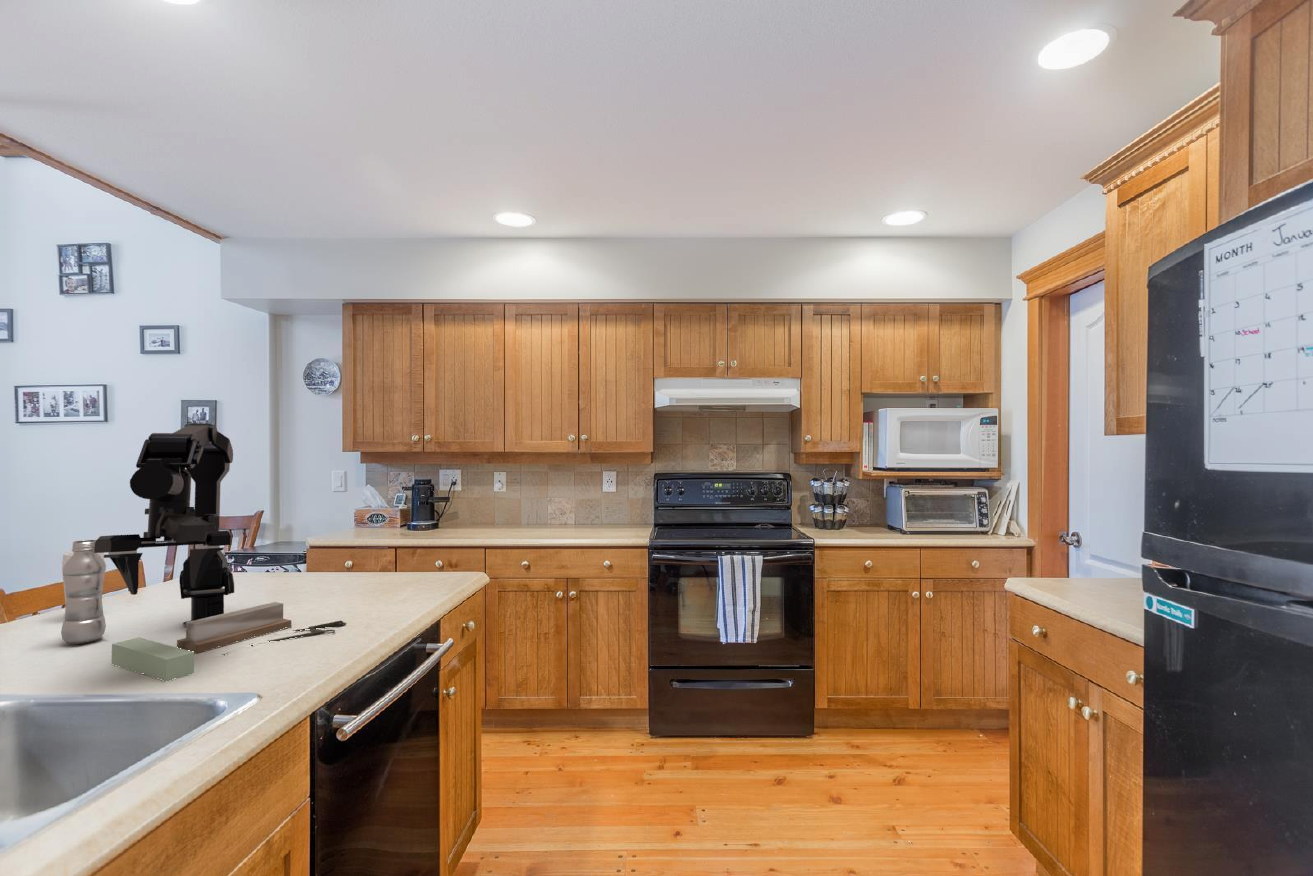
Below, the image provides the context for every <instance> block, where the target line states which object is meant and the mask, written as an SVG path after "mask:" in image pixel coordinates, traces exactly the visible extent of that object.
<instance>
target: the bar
mask: <svg viewBox="0 0 1313 876" xmlns="http://www.w3.org/2000/svg"><path fill="white" fill-rule="evenodd" d="M112 664H114V665H113V666H115V665H117V666H116V667H118V666H120V667H119V668H121V667H122V668H121V669H124V668H127V669H129V670H128V671H130V670H132V671H131V672H134V671H136V672H135V673H137V672H139V673H138V674H140V673H144V674H146V675H148V676H147V677H149V676H152V677H151V678H153V677H154V678H153V679H156V678H159V679H162V680H164V681H163V682H165V681H168V682H170V681H169V680H171V681H173V680H172V679H174V678H178V679H181V678H183V677H184V676H185V677H188V676H190V675H189V674H191V675H193V674H192V673H194V674H195V652H192V651H188V650H184V649H180V648H177V646H172V645H170V644H165V643H161V642H158V641H154V640H151V639H146V638H143V637H140V636H139V637H136V638H135V637H134V638H130V639H126V640H122V641H118V642H114V643H111V665H112ZM127 669H126V670H127ZM146 675H145V676H146ZM187 675H188V676H187ZM185 677H184V678H185ZM159 679H158V680H159ZM162 680H161V681H162Z"/></svg>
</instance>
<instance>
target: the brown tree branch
mask: <svg viewBox="0 0 1313 876" xmlns="http://www.w3.org/2000/svg"><path fill="white" fill-rule="evenodd" d="M346 624H347V622H344V621H343V620H338V621H337V620H336V621H332V622H327V623H320V624H318V625H317V624H316V625H312V626H308V628H300V629H295V630H293V631H300V630H305V629H310V630H306V633H302V634H301V633H300V634H296V635H295V634H294V635H290V636H286V637H280V638H279V637H278V638H276V639H275V638H274V639H268V641H269V642H270V641H277V642H281V641H280V640H284V641H286V640H285V639H289V638H295V637H301V636H307V637H313V636H317V634H319V635H322V634H325V633H324V632H328V633H326V635H330V634H333V633H335V632H336V630H335V629H326V628H325V627H332V628H341V627H344V626H345V625H346ZM316 628H324V629H316ZM321 633H322V634H321ZM312 635H313V636H312ZM295 639H296V638H295ZM289 640H290V639H289ZM251 646H252V647H254V646H253V645H251ZM227 653H228V652H226V653H223V654H222V655H224V656H226V655H225V654H227ZM227 655H228V654H227Z"/></svg>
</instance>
